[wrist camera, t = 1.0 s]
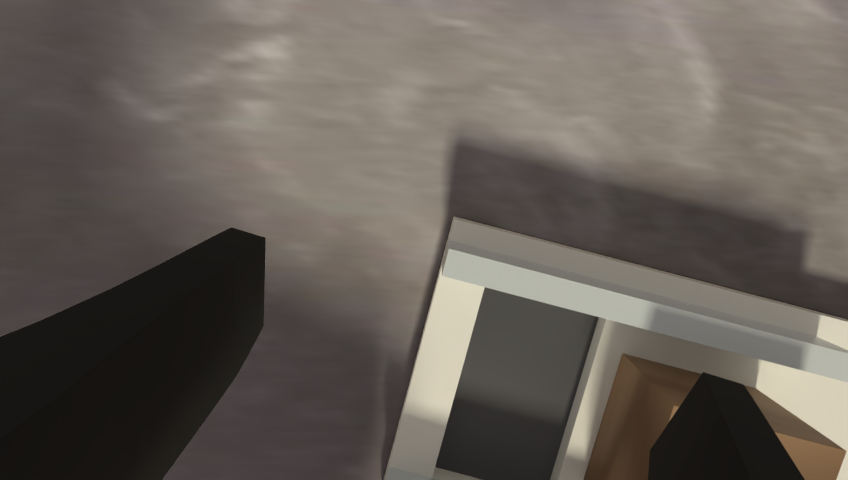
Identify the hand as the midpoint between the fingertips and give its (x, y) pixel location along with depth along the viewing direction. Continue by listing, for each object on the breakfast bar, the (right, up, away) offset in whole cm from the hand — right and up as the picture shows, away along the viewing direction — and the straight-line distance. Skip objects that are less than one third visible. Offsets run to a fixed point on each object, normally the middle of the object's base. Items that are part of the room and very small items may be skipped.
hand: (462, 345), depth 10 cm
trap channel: (+8, -5, +11) cm, 14 cm away
